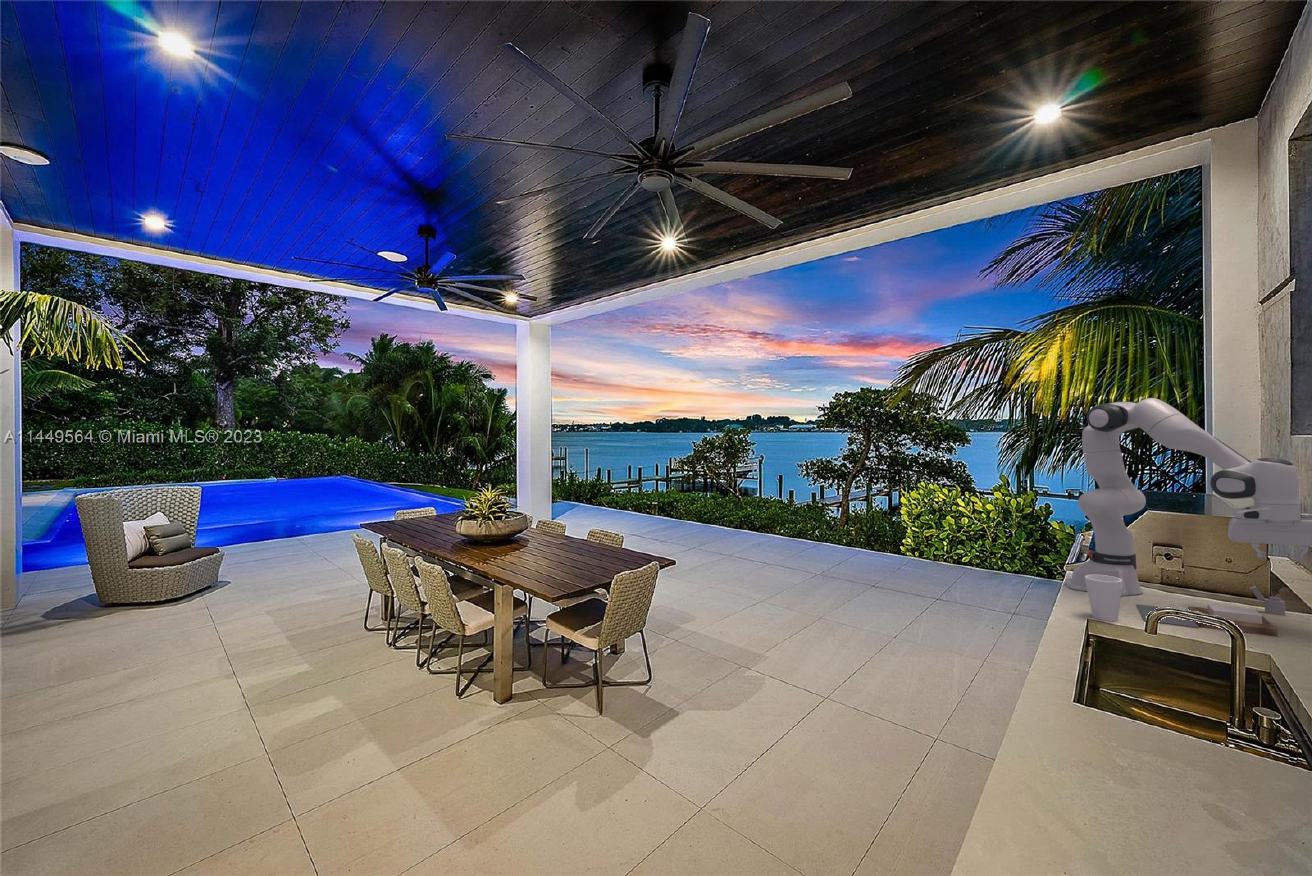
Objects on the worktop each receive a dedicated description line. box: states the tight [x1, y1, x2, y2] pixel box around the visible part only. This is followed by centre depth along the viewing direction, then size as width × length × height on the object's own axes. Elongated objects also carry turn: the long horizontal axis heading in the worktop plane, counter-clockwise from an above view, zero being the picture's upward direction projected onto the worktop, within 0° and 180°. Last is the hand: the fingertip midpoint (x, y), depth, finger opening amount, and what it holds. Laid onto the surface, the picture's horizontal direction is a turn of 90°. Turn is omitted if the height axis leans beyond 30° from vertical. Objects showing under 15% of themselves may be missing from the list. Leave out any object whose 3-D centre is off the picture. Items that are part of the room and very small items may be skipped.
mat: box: [1135, 603, 1200, 629], centre depth 169 cm, size 12×18×1 cm
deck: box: [1187, 605, 1279, 637], centre depth 161 cm, size 16×15×2 cm
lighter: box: [1249, 585, 1286, 616], centre depth 168 cm, size 7×2×8 cm, turn 38°
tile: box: [1207, 603, 1263, 624], centre depth 160 cm, size 10×7×2 cm
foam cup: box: [1085, 575, 1123, 622], centre depth 171 cm, size 10×9×13 cm
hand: (1279, 559), depth 154 cm, fingers open, 6 cm apart
